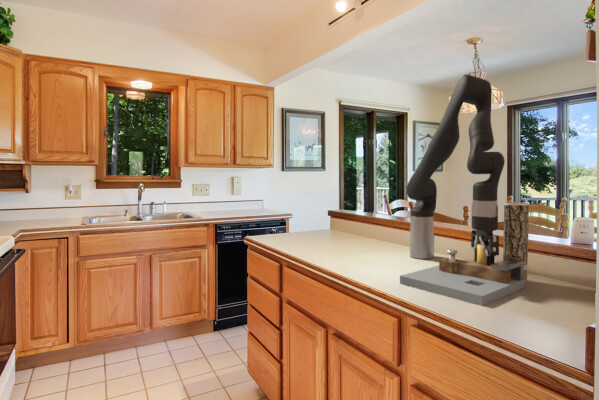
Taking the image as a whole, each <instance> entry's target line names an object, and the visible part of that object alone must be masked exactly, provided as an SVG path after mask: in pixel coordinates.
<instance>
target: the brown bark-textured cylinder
mask: <svg viewBox="0 0 599 400" xmlns="http://www.w3.org/2000/svg"><path fill="white" fill-rule="evenodd" d="M503 204H504V205H503V241H502V242H503V244H502V249H503V251H502V261H504V260H507V259H510V258H511V259H517V260H524V279H525V283H526V282H527V280H528V266H529V265H528V263H529V262H528V257H529V256H528V255H529V229H530V228H529V227H530V226H529V225H530V224H529V220H530V203H529V202H520V201H519V202H518V201H517V202H515V201H514V202H513V201H512V202H511V201H508V202H507V201H506V202H504V203H503Z"/></svg>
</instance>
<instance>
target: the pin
mask: <svg viewBox="0 0 599 400" xmlns="http://www.w3.org/2000/svg"><path fill="white" fill-rule="evenodd" d="M486 256H487V255H486V252H485V250H484V249H483V247H482V245H480V244H477V262H476V263H477V264H482V265H486Z"/></svg>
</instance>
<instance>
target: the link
mask: <svg viewBox="0 0 599 400" xmlns="http://www.w3.org/2000/svg"><path fill="white" fill-rule="evenodd" d="M438 261H439V263H438V266H439V270H441V271H443V272H448V273H455V274H462V275H467V276H472V277H477V278H481V279H486V280H491V281H496V282H500V283H508V282H510V279H511V270H507V271H502V270H497V269H492V268H491V266H488V265H482V264H477V262H469V261H466V260H463V259H459V258H455V262H452V261H449V257H444V258H441V259H439V260H438Z"/></svg>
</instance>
